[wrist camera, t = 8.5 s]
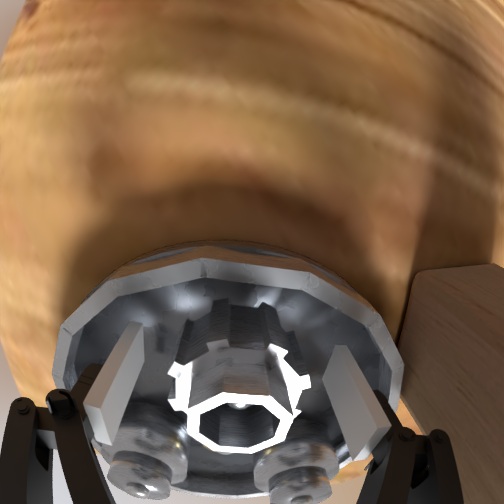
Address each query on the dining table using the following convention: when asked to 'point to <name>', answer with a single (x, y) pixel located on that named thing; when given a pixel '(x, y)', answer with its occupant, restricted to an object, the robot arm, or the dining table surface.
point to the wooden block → (459, 370)
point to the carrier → (175, 422)
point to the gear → (237, 377)
